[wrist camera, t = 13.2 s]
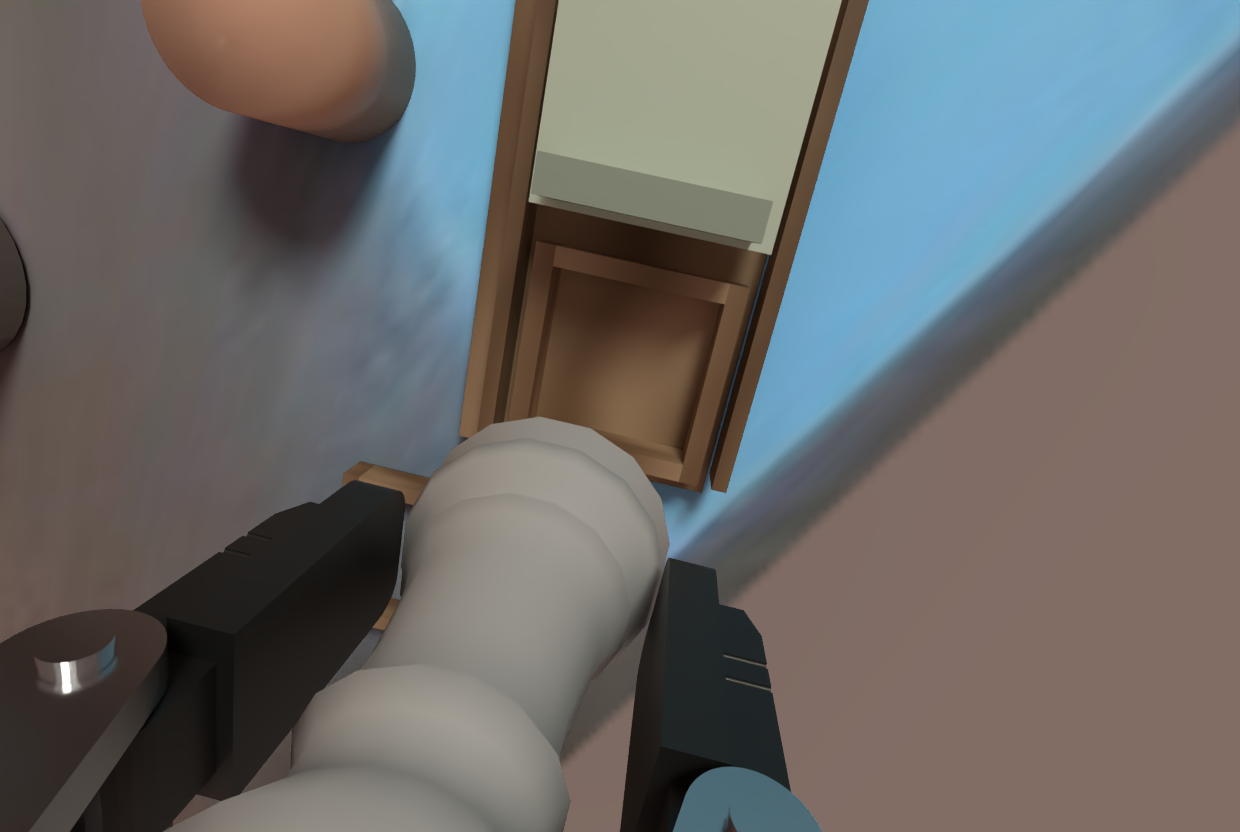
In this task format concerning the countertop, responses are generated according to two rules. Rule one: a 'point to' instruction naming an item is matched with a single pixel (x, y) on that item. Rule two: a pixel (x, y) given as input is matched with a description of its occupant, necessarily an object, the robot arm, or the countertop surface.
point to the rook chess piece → (478, 646)
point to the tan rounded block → (292, 60)
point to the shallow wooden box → (627, 295)
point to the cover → (680, 112)
